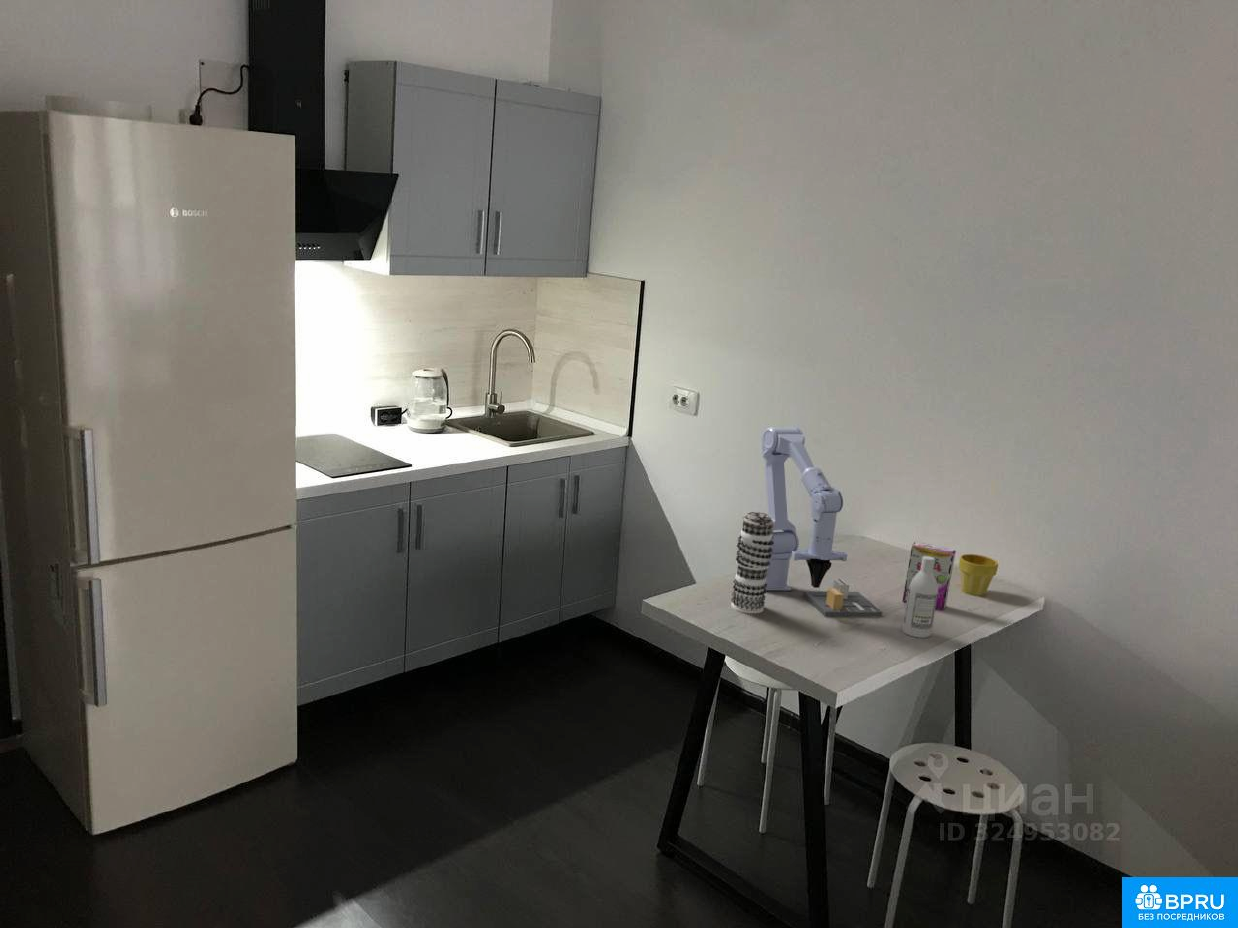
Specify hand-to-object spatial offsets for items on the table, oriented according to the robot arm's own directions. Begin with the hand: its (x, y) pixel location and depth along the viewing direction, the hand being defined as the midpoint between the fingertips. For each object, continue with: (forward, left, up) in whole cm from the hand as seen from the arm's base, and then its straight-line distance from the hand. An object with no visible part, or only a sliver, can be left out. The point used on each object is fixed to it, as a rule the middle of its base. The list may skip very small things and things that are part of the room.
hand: (815, 586), depth 268 cm
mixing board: (+10, +4, -7) cm, 13 cm away
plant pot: (+56, +15, -7) cm, 58 cm away
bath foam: (+22, -15, -7) cm, 27 cm away
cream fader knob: (+11, +8, -5) cm, 14 cm away
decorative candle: (-17, +2, -7) cm, 18 cm away
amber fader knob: (+6, 0, -5) cm, 8 cm away
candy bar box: (+35, +5, -7) cm, 36 cm away
